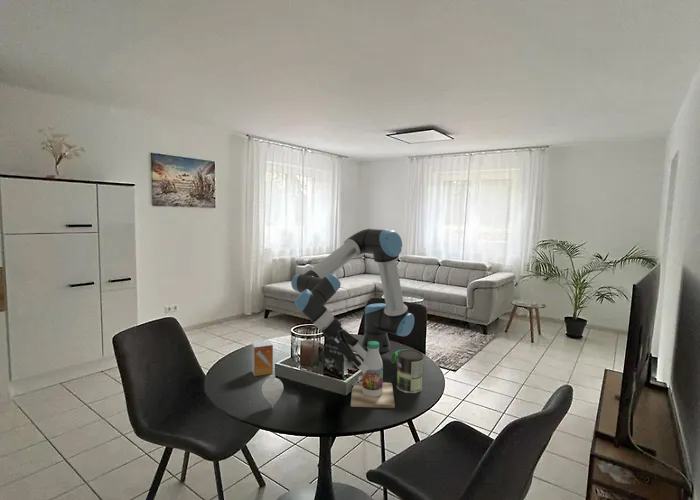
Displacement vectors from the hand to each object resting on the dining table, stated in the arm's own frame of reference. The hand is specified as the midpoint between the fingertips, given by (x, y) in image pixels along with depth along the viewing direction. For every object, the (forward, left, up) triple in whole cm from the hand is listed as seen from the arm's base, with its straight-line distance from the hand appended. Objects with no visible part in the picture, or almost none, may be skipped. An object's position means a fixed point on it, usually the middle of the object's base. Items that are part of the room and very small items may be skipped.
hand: (366, 363), depth 147 cm
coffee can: (-8, +18, -13) cm, 23 cm away
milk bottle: (0, +3, -12) cm, 12 cm away
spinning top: (+12, -33, -13) cm, 38 cm away
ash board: (0, +3, -13) cm, 13 cm away
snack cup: (-19, +18, -13) cm, 29 cm away
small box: (-17, -45, -13) cm, 50 cm away
